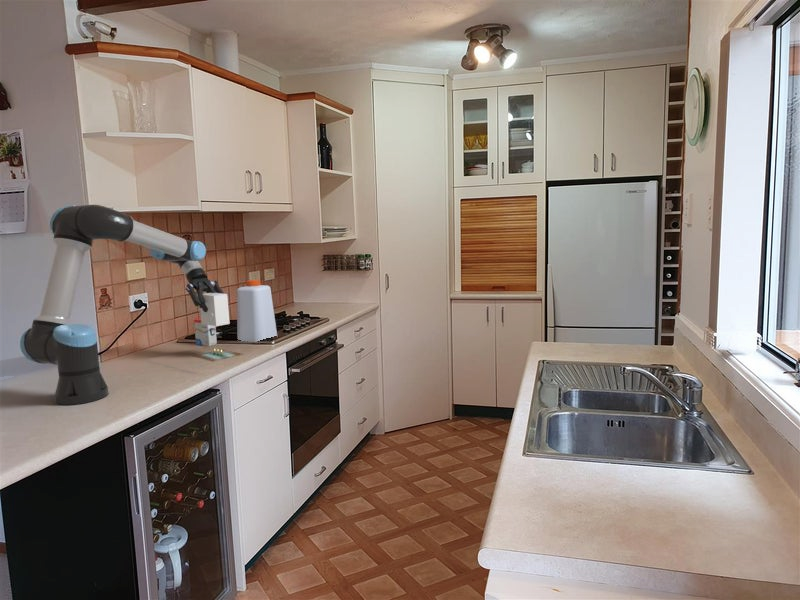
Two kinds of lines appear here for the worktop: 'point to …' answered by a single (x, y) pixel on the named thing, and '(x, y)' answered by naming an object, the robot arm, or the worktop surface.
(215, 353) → the header pins
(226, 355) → the dock board
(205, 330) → the ink box
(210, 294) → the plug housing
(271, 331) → the plastic bottle
